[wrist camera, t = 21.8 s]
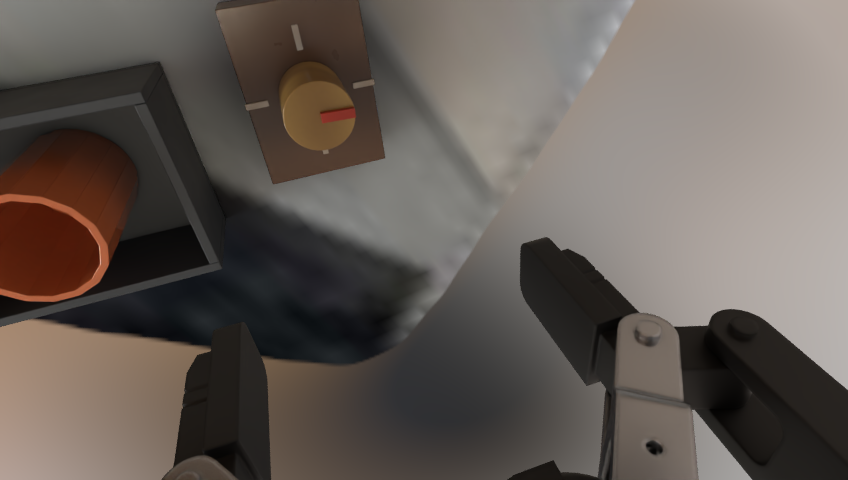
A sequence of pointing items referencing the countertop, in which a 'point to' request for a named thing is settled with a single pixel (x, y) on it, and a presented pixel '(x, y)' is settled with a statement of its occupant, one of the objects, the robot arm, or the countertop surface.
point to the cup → (62, 214)
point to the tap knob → (315, 106)
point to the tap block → (287, 46)
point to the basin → (157, 170)
